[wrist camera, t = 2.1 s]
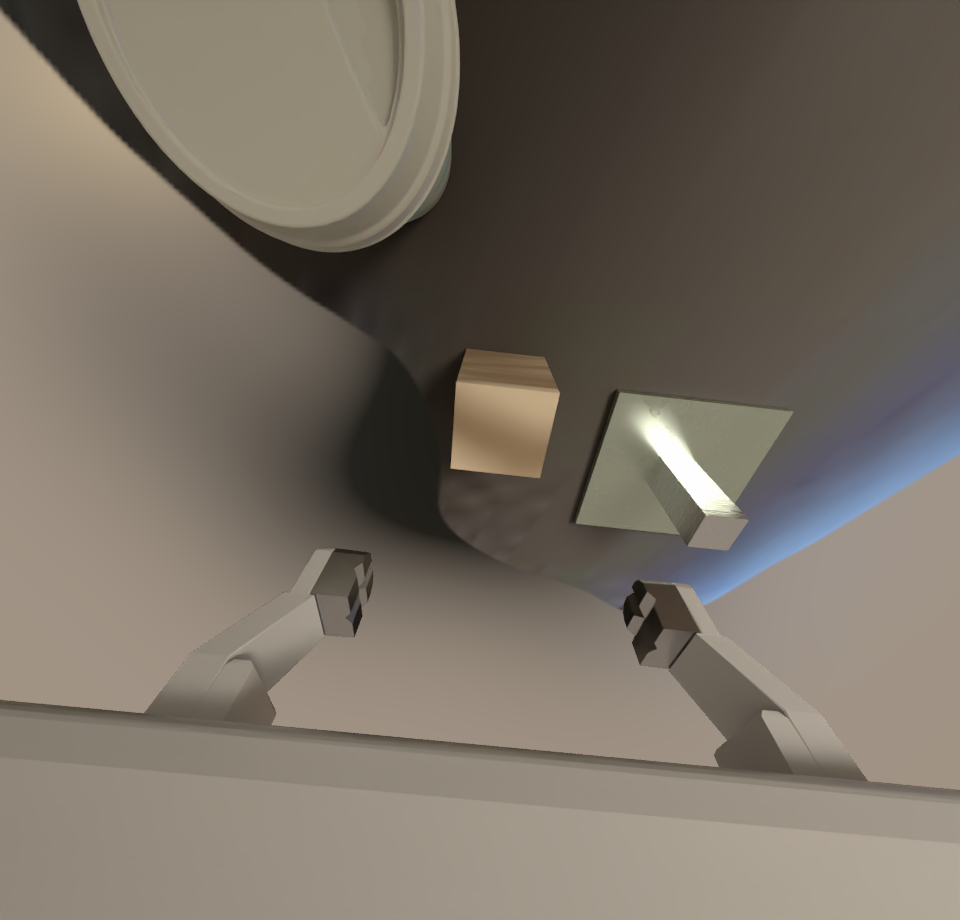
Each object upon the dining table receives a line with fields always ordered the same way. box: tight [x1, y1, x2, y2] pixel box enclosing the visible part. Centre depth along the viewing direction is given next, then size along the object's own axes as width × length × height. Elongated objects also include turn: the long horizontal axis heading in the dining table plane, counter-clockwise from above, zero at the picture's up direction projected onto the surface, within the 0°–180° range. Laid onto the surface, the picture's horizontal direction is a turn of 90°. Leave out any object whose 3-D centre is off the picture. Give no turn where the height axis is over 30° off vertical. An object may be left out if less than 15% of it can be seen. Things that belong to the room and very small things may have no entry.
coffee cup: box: [77, 0, 460, 252], centre depth 12 cm, size 9×8×12 cm
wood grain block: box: [451, 349, 560, 478], centre depth 21 cm, size 5×5×7 cm
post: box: [574, 389, 793, 550], centre depth 24 cm, size 12×12×7 cm
